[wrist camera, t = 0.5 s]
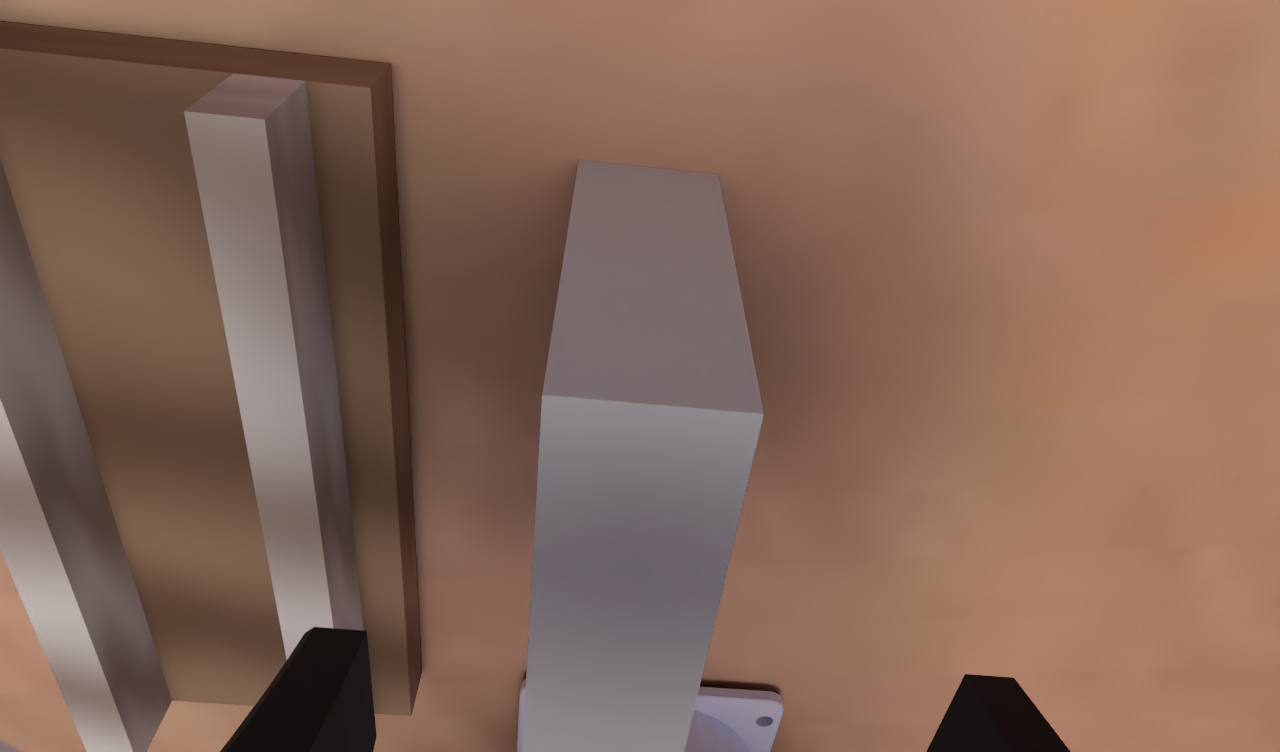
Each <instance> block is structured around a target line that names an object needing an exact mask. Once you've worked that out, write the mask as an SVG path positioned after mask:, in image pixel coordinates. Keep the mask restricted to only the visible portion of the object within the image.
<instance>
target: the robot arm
mask: <svg viewBox="0 0 1280 752" xmlns="http://www.w3.org/2000/svg"><path fill="white" fill-rule="evenodd" d="M525 693H526V679H525V680H524V681H522V684H521V688H520V699H519V719H518V739H517V752H522V747H523V729H524V711H525ZM783 712H784V707H783V700H782V698H781V696H780V695H778V694H777V693H775V692H770V691H759V690H744V689H729V688H714V687H699V691H698V695H697V700H696V704H695V708H694V712H693V717H692V721H691V725H690V729H689V734H688V738H687V742H686V746H685V751H684V752H770V751H771V748H772V745H773V742H774V739H775V736H776V733H777V730H778V727H779V724H780V721H781V718H782V715H783ZM375 740H376V726H375V715H374V704H373V693H372V682H371V671H370V661H369V650H368V639H367V631H363V630H349V629H336V628H322V627H313V628H312V629H310V630H309V631H307V632H305V634H304V635H303V637H302V638H301V640H300V641H299V643H298V644H297V646H296V647H295V649H294V650H293V652H292V653H291V655H290V656H289V658H288V659H287V661H286V662H285V664H284V665H283V667H282V668H281V669H280V671H279V672H278V674H277V675H276V677H275V678H274V680H273V681H272V682H271V684H270V685H269V687H268V688H267V690H266V691H265V692H264V694H263V695H262V696H261V698H260V699H259V701H258V702H257V703H256V705H255V706H254V707H253V709H252V710H251V712H250V713H249V714H248V716H247V717H246V718H245V720H244V721H243V722H242V724H241V725H240V726H239V728H238V729H237V730H236V732H235V733H234V734H233V736H232V737H231V738H230V740H229V741H228V742H227V744H226V745H225V746H224V747H223V749H222V750H221V751H220V752H373V749H374V745H375ZM927 752H1070V750H1069V749H1068V748H1067V747H1066V745H1065V744H1064V743H1063V741H1062V740H1061V739H1060V737H1059V736H1058V735H1057V733H1056V732H1055V731H1054V730H1053V728H1052V727H1051V726H1050V724H1049V723H1048V722H1047V720H1046V719H1045V718H1044V717H1043V715H1042V714H1041V713H1040V711H1039V710H1038V709H1037V707H1036V706H1035V705H1034V704H1033V702H1032V701H1031V700H1030V698H1029V697H1028V696H1027V694H1026V693H1025V692H1024V691H1023V689H1022V688H1021V687H1020V685H1019V684H1018V683H1017V681H1016V680H1015V679H1014V678H1009V677H995V676H981V675H968V674H965V676H964V678H963V680H962V682H961V684H960V686H959V688H958V690H957V692H956V694H955V696H954V698H953V700H952V702H951V704H950V706H949V708H948V710H947V712H946V714H945V716H944V718H943V720H942V722H941V724H940V726H939V728H938V730H937V732H936V734H935V736H934V738H933V740H932V742H931V744H930V746H929V748H928V750H927Z"/></svg>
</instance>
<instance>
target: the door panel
mask: <svg viewBox="0 0 1280 752" xmlns="http://www.w3.org/2000/svg"><path fill="white" fill-rule="evenodd" d="M763 416H764V412H763V407H762V401H761V396H760V391H759V386H758V380H757V375H756V370H755V365H754V359H753V354H752V349H751V344H750V339H749V333H748V328H747V323H746V318H745V312H744V307H743V302H742V297H741V291H740V286H739V281H738V276H737V270H736V265H735V260H734V255H733V249H732V244H731V239H730V234H729V228H728V223H727V218H726V213H725V207H724V202H723V197H722V192H721V186H720V181H719V176H718V174H710V173H701V172H691V171H681V170H672V169H662V168H652V167H643V166H633V165H623V164H614V163H604V162H594V161H585V160H579V161H578V168H577V174H576V181H575V187H574V193H573V200H572V206H571V213H570V219H569V225H568V232H567V238H566V245H565V251H564V258H563V264H562V270H561V277H560V283H559V290H558V296H557V302H556V309H555V315H554V322H553V328H552V334H551V341H550V347H549V354H548V360H547V367H546V373H545V379H544V386H543V392H542V406H541V424H540V441H539V459H538V477H537V495H536V513H535V531H534V549H533V567H532V585H531V603H530V621H529V639H528V657H527V675H526V693H525V711H524V729H523V747H522V752H684V751H685V746H686V742H687V738H688V734H689V729H690V725H691V721H692V717H693V712H694V708H695V704H696V700H697V695H698V691H699V687H700V683H701V679H702V674H703V670H704V666H705V662H706V657H707V653H708V649H709V645H710V640H711V636H712V632H713V628H714V623H715V619H716V615H717V611H718V607H719V602H720V598H721V594H722V590H723V585H724V581H725V577H726V573H727V568H728V564H729V560H730V556H731V551H732V547H733V543H734V539H735V535H736V530H737V526H738V522H739V518H740V513H741V509H742V505H743V501H744V496H745V492H746V488H747V484H748V479H749V475H750V471H751V467H752V462H753V458H754V454H755V450H756V446H757V441H758V437H759V433H760V429H761V424H762V420H763Z"/></svg>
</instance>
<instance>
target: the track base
mask: <svg viewBox="0 0 1280 752" xmlns="http://www.w3.org/2000/svg"><path fill="white" fill-rule="evenodd" d="M0 550H1V553H2V555H3V557H4V560H5V562H6V564H7V567H8V569H9V571H10V574H11V576H12V578H13V581H14V583H15V585H16V588H17V590H18V592H19V595H20V597H21V599H22V602H23V604H24V606H25V609H26V611H27V613H28V616H29V618H30V620H31V623H32V625H33V627H34V630H35V632H36V634H37V637H38V639H39V641H40V644H41V646H42V648H43V651H44V653H45V655H46V658H47V660H48V662H49V665H50V667H51V669H52V672H53V674H54V676H55V679H56V681H57V683H58V686H59V688H60V690H61V693H62V695H63V697H64V700H65V702H66V704H67V707H68V709H69V711H70V714H71V716H72V718H73V721H74V723H75V725H76V728H77V730H78V732H79V735H80V737H81V739H82V742H83V744H84V746H85V749H86V751H87V752H146V751H147V749H148V747H149V745H150V743H151V741H152V739H153V737H154V735H155V733H156V731H157V729H158V727H159V725H160V723H161V721H162V719H163V717H164V715H165V713H166V711H167V709H168V707H169V705H170V703H171V701H187V702H203V703H219V704H235V705H250V706H255V705H256V703H257V702H258V701H259V699H260V698H261V696H262V695H263V694H264V692H265V691H266V690H267V688H268V687H269V685H270V684H271V682H272V681H273V680H274V678H275V677H276V675H277V674H278V672H279V671H280V669H281V668H282V667H283V665H284V664H285V662H286V661H287V659H288V658H289V656H290V655H291V653H292V652H293V650H294V649H295V647H296V646H297V644H298V643H299V641H300V640H301V638H302V637H303V635H304V634H305V632H307V631H309V630H310V629H312V628H313V627H322V628H336V629H349V630H363V631H367V639H368V650H369V661H370V671H371V682H372V693H373V704H374V713H376V714H392V715H407V716H411V715H412V711H413V707H414V703H415V699H416V694H417V690H418V686H419V682H420V678H421V674H422V663H421V643H420V624H419V604H418V585H417V565H416V546H415V526H414V507H413V487H412V468H411V449H410V429H409V410H408V390H407V371H406V351H405V332H404V312H403V293H402V273H401V254H400V234H399V215H398V195H397V176H396V156H395V137H394V117H393V98H392V79H391V64H389V63H380V62H371V61H361V60H352V59H343V58H334V57H325V56H315V55H306V54H297V53H288V52H279V51H269V50H260V49H251V48H242V47H233V46H223V45H214V44H205V43H196V42H187V41H177V40H168V39H159V38H150V37H141V36H131V35H122V34H113V33H104V32H95V31H85V30H76V29H67V28H58V27H49V26H39V25H30V24H21V23H12V22H3V21H0Z"/></svg>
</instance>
